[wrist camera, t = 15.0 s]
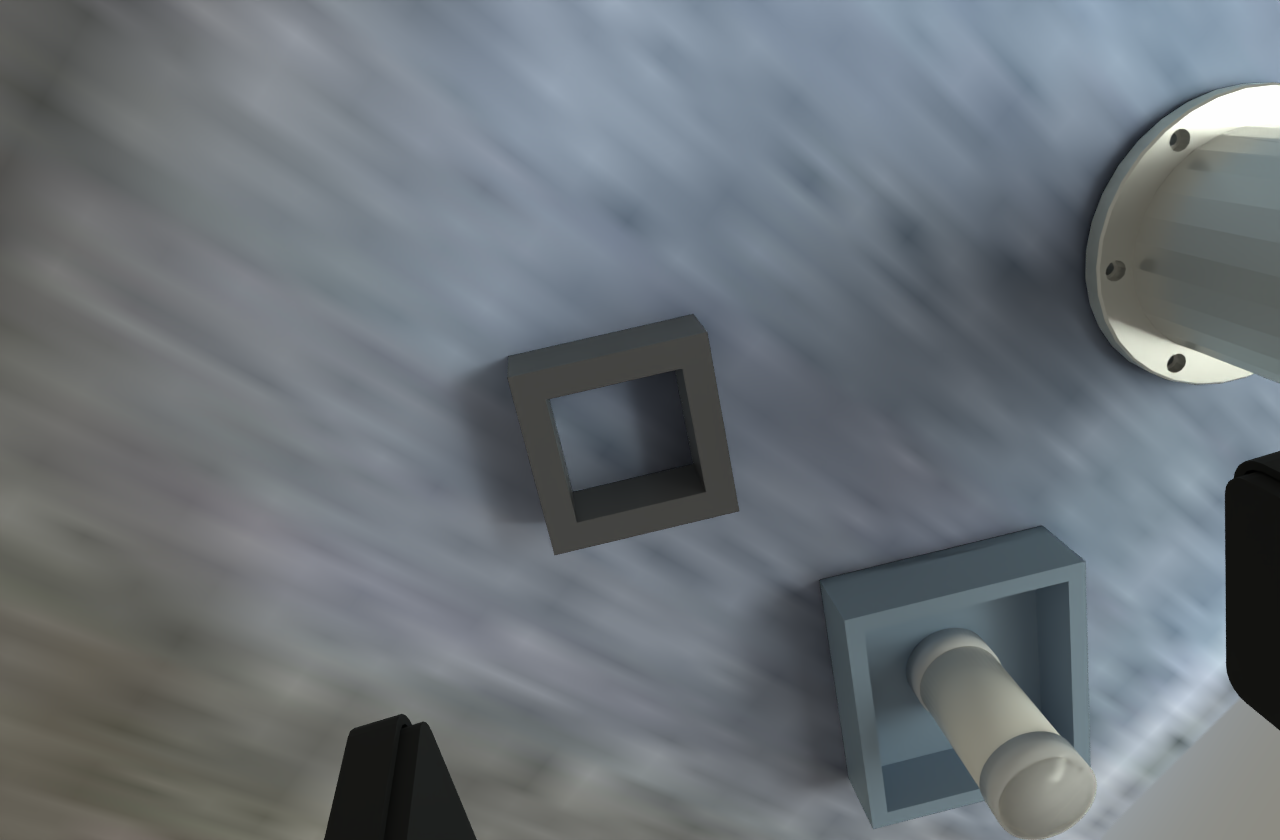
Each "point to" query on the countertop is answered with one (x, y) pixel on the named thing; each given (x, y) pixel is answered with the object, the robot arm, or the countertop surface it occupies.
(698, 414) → the frame
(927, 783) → the parts tray
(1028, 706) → the cylinder
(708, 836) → the countertop surface
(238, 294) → the countertop surface
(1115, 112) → the countertop surface
